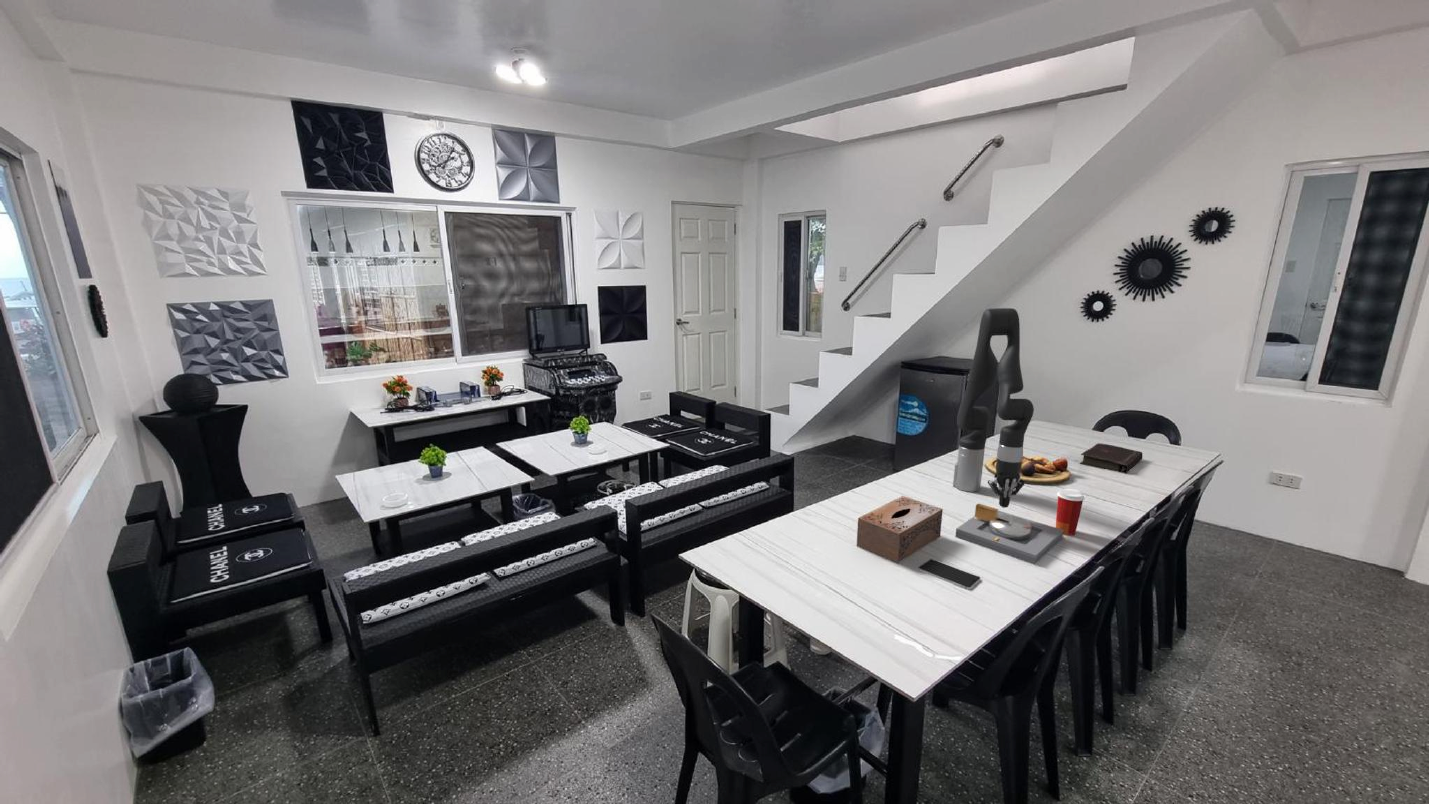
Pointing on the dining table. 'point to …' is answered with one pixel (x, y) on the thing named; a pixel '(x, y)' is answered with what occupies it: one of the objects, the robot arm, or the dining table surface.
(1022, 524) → the dial
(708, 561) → the dining table surface
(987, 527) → the panel
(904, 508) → the tissue box cover
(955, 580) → the smartphone
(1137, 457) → the diary
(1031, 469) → the wooden plate with food
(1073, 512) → the paper cup
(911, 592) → the dining table surface
